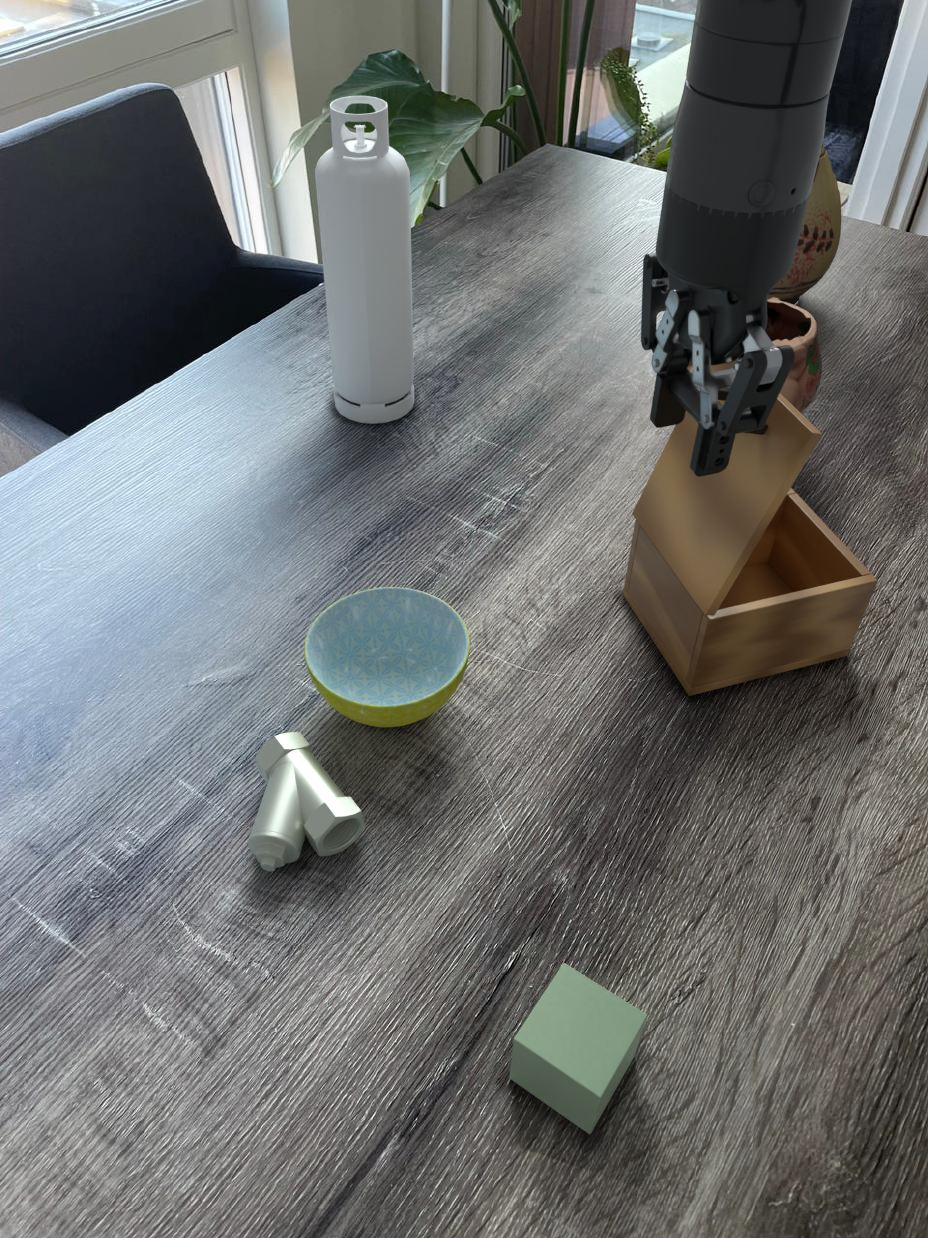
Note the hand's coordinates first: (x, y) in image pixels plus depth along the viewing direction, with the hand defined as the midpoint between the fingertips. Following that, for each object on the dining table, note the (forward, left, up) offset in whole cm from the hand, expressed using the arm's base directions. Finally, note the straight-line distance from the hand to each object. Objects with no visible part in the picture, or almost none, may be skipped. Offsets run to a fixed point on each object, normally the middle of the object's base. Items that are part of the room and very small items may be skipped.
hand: (685, 445), depth 64 cm
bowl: (+13, +16, -18) cm, 27 cm away
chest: (-4, -6, -18) cm, 20 cm away
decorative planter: (+6, -29, -18) cm, 35 cm away
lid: (-2, -3, -3) cm, 5 cm away
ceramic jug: (+16, -58, -18) cm, 63 cm away
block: (-11, +31, -18) cm, 38 cm away
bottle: (+39, -15, -18) cm, 45 cm away
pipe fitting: (+12, +28, -18) cm, 36 cm away
